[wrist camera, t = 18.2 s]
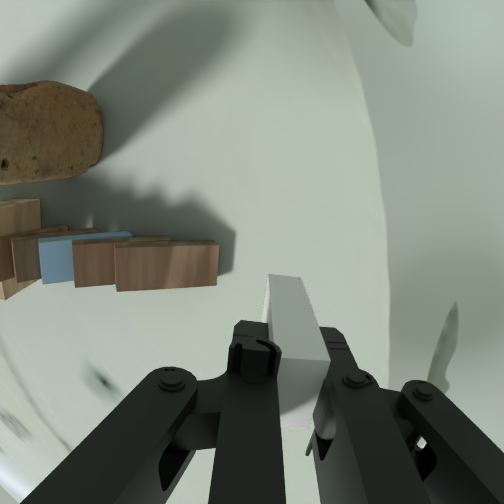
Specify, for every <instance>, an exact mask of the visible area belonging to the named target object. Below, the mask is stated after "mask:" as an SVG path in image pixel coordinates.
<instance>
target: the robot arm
mask: <svg viewBox="0 0 504 504" xmlns="http://www.w3.org/2000/svg"><path fill="white" fill-rule="evenodd" d="M312 418H313V420H314V425H315V429H314V431H313V434H312V437H311V439H310V442H309V444H308V447H307V449H306V455H305V456H309V454H310V452H311V449H313V456H314V462H315V469H316V475H317V482H318V488H319V495H320V502H321V504H504V453H503V452H502V451H501V450H500V449H499V448H498V447H497V446H496V445H495V444H494V443H493V442H492V441H491V440H490V439H489V438H488V437H487V436H486V435H485V434H484V433H483V432H482V431H481V430H480V429H479V428H478V427H477V426H476V425H475V424H474V423H473V422H472V421H471V420H470V419H469V418H468V417H467V416H466V415H465V414H464V413H463V412H462V411H461V410H460V409H459V408H458V407H457V406H456V405H455V404H454V403H453V402H452V401H451V400H450V399H448V398H447V397H446V396H445V395H444V394H443V393H442V392H441V391H440V390H439V389H438V388H437V387H435V386H434V385H433V384H431V383H428V382H426V381H421V380H411V381H409V382H407V383H405V385H404V386H403V388H402V390H401V392H399V391H393V390H388V389H383V388H380V387H379V385H378V383H377V381H376V380H375V379H374V377H373V376H372V375H371V374H369V373H368V372H366V371H363V370H361V369H359V368H358V366H357V363H356V361H355V359H354V357H353V355H352V353H351V351H350V348H349V346H348V344H347V342H346V340H345V338H344V335H343V334H342V333H340V332H339V331H338V330H337V329H336V328H331V327H319V326H318V323H317V320H316V317H315V315H314V312H313V309H312V306H311V304H310V301H309V298H308V295H307V293H306V290H305V287H304V284H303V282H302V279H301V278H300V277H291V276H282V275H273V274H268V279H267V286H266V293H265V300H264V307H263V314H262V320H261V322H254V321H245V320H241V321H240V322H238V323H237V324H236V325H235V326H234V332H233V339H232V343H231V345H230V346H229V354H228V364H227V371H226V372H225V373H224V374H222V375H221V376H219V377H217V378H214V379H209V380H200V381H197V379H196V377H195V376H194V375H193V374H192V373H191V372H189V371H187V370H185V369H183V368H177V367H162V368H158V369H155V370H153V371H152V372H150V373H149V374H148V375H147V376H146V377H145V378H144V379H143V380H142V381H141V382H140V383H139V384H138V385H137V386H136V387H135V388H134V389H133V390H132V391H131V392H130V393H129V394H128V395H127V396H126V397H125V398H124V399H123V400H122V401H121V402H120V403H119V404H118V406H117V407H116V408H115V409H114V410H113V411H112V412H111V413H110V414H109V415H108V416H107V417H106V418H105V419H104V420H103V421H102V422H101V423H100V424H99V425H98V426H97V427H96V428H95V429H94V430H93V431H92V432H91V433H90V434H89V435H88V436H87V437H86V438H85V439H84V440H83V441H82V442H81V443H80V444H79V445H78V446H77V447H76V448H75V449H74V450H73V451H72V452H71V453H70V454H69V455H68V456H67V457H66V458H65V459H64V460H63V461H62V462H61V463H60V464H59V465H58V466H57V467H56V468H55V469H54V470H53V471H52V472H51V473H50V474H49V475H48V476H47V477H46V478H45V479H44V480H43V481H42V482H41V483H40V484H39V485H38V486H37V487H36V488H35V489H34V490H33V491H32V492H31V493H30V494H29V495H28V496H27V497H26V498H25V499H24V500H23V501H22V502H21V503H20V504H165V503H166V501H167V500H168V498H169V496H170V495H171V493H172V492H173V490H174V488H175V487H176V485H177V483H178V482H179V480H180V478H181V477H182V475H183V473H184V471H185V470H186V468H187V466H188V465H189V463H190V461H191V459H192V458H193V456H194V454H195V452H196V450H202V449H211V448H216V450H215V457H214V464H213V471H212V479H211V486H210V493H209V500H208V504H286V494H285V479H284V465H283V450H282V437H281V428H293V429H309V427H310V424H311V421H312ZM421 437H423V439H424V440H425V441H426V442H427V444H426V445H425V447H424V448H423V449H422V448H420V447H418V445H417V443H418V442H419V440H420V438H421Z"/></svg>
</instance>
